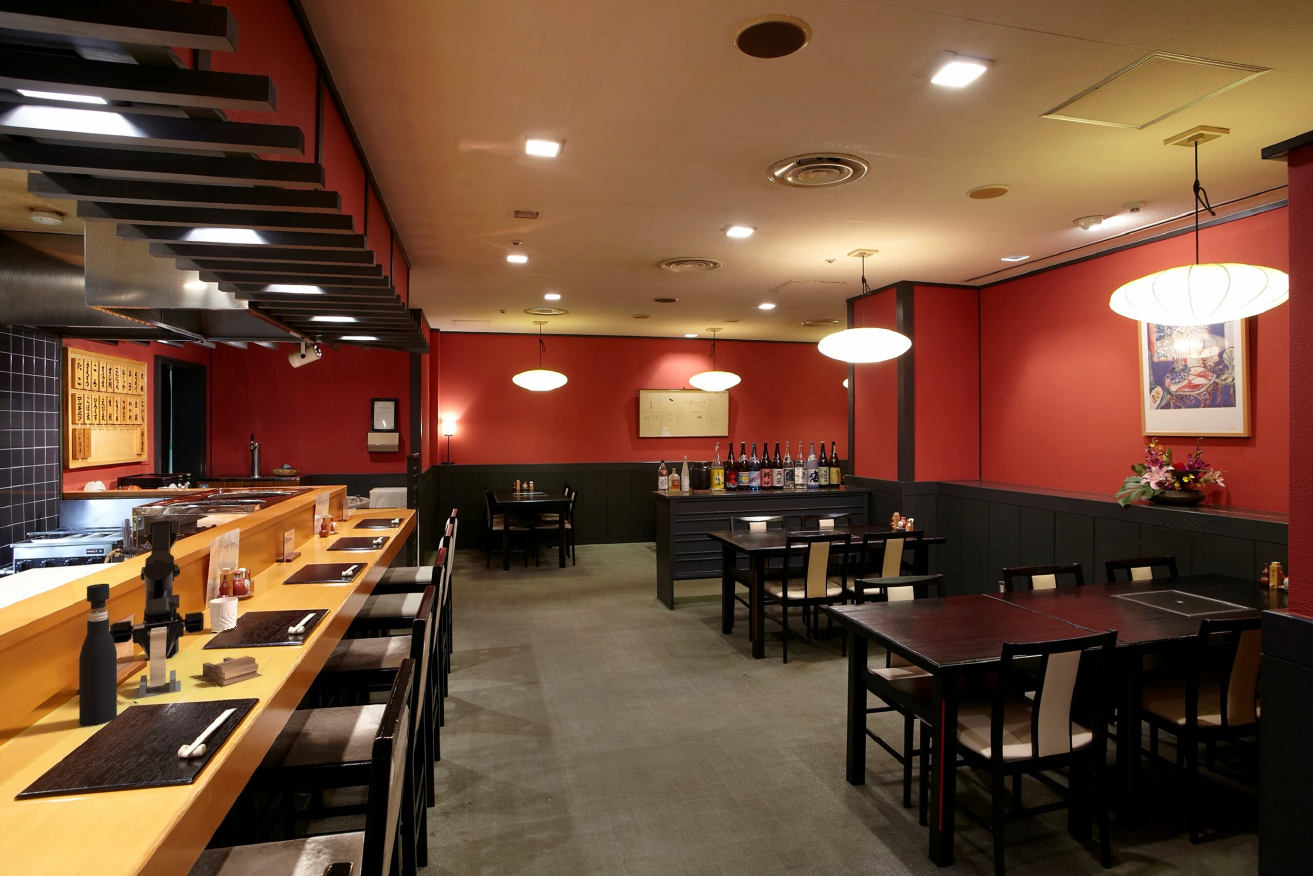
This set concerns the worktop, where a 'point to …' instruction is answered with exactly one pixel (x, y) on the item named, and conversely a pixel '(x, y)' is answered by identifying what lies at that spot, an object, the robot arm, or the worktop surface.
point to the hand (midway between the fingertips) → (158, 657)
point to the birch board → (158, 656)
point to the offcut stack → (235, 670)
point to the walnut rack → (210, 674)
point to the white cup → (223, 613)
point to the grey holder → (157, 687)
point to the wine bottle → (97, 664)
